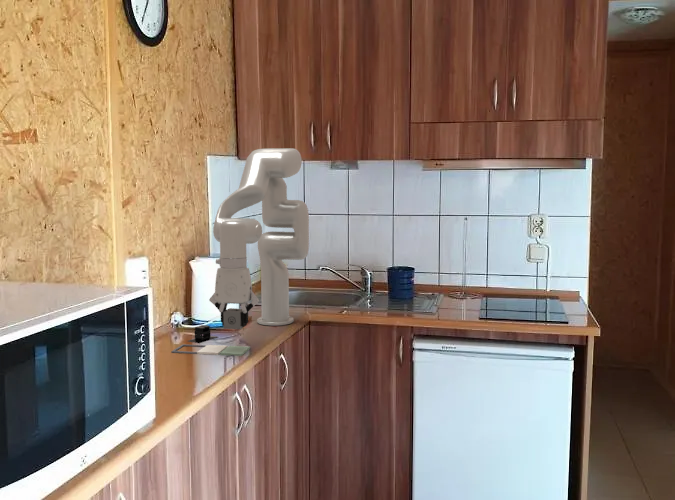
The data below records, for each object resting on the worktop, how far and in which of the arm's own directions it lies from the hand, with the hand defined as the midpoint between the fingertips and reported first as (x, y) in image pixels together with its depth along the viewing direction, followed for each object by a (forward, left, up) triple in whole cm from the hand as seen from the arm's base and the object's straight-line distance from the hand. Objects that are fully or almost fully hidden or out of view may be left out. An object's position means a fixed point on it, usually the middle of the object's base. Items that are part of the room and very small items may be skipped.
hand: (234, 324), depth 202 cm
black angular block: (-13, -15, -9) cm, 22 cm away
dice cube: (0, 0, -1) cm, 1 cm away
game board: (0, -7, -8) cm, 11 cm away
